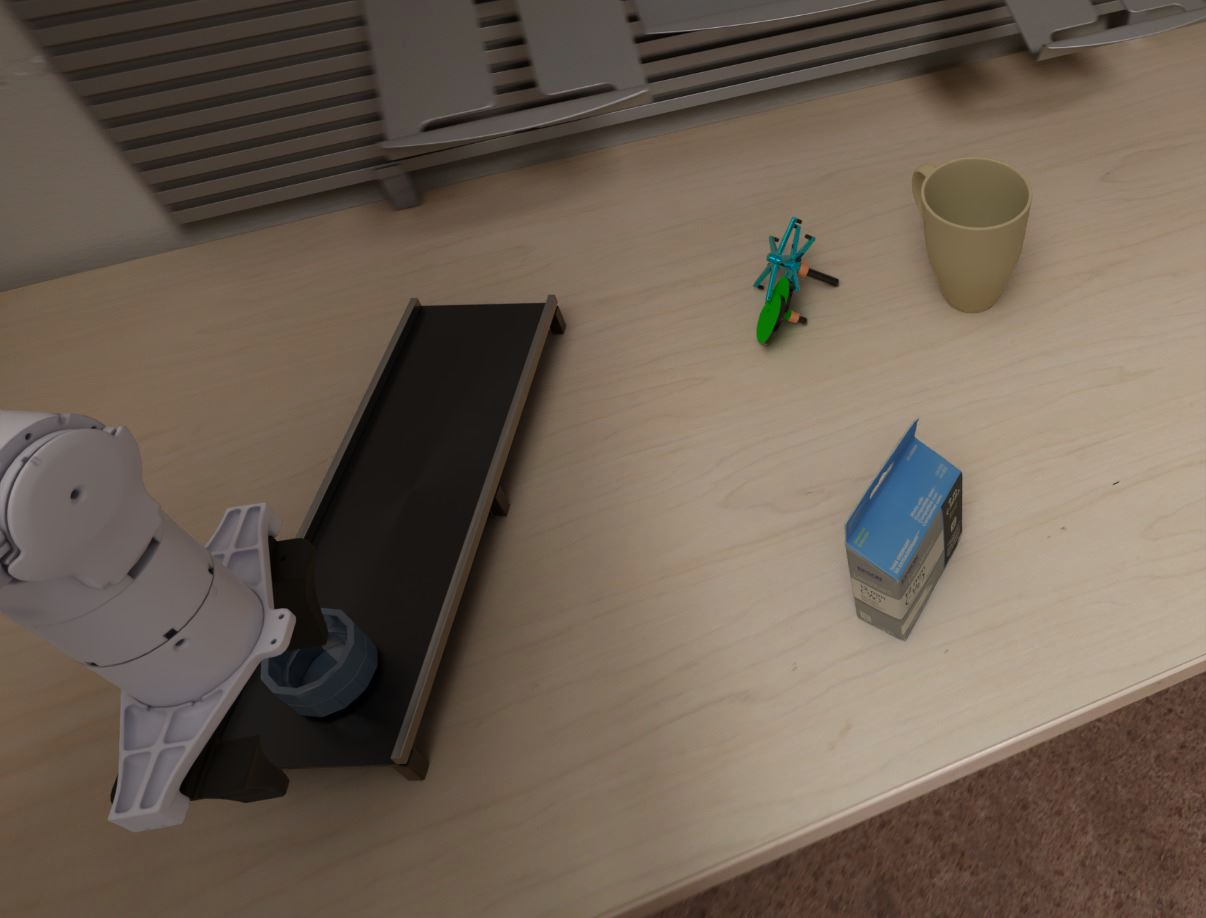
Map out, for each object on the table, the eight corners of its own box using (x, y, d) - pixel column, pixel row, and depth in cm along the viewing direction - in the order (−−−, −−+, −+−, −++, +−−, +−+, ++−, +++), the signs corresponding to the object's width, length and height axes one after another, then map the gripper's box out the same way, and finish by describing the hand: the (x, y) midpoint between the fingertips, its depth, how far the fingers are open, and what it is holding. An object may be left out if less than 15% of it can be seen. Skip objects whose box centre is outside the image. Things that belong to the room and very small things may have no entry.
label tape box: (904, 645, 62) (901, 554, 53) (851, 615, 63) (840, 522, 54) (963, 536, 67) (970, 438, 58) (913, 512, 69) (912, 412, 60)
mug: (1029, 259, 87) (1041, 158, 79) (1012, 339, 80) (1023, 237, 72) (915, 240, 89) (914, 139, 81) (888, 316, 82) (885, 215, 74)
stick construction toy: (757, 232, 87) (795, 199, 81) (822, 258, 90) (864, 228, 84) (732, 352, 81) (771, 326, 75) (803, 375, 84) (846, 352, 78)
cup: (321, 737, 55) (289, 712, 52) (276, 686, 57) (243, 660, 55) (397, 667, 58) (370, 639, 55) (352, 621, 60) (324, 592, 57)
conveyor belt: (426, 780, 56) (400, 758, 53) (222, 785, 56) (185, 763, 53) (567, 325, 82) (555, 294, 79) (428, 328, 82) (410, 297, 79)
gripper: (176, 764, 36) (332, 854, 46) (287, 445, 46) (396, 573, 56) (-25, 798, 35) (177, 883, 45) (134, 467, 45) (270, 593, 55)
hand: (289, 713), depth 50 cm, fingers open, 7 cm apart
